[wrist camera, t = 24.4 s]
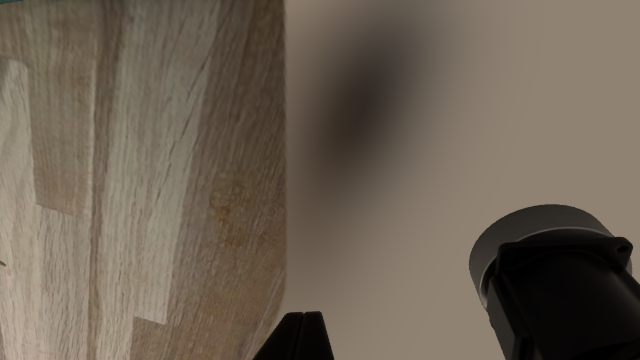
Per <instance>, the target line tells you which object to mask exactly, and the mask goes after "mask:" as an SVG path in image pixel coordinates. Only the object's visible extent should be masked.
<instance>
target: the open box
mask: <svg viewBox="0 0 640 360" xmlns="http://www.w3.org/2000/svg"><path fill="white" fill-rule="evenodd" d="M15 1H21V0H0V4H3V3H9V2H15Z"/></svg>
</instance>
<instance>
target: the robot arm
mask: <svg viewBox="0 0 640 360" xmlns="http://www.w3.org/2000/svg"><path fill="white" fill-rule="evenodd" d="M620 246H621V247H620ZM618 247H619V248H618ZM510 250H511V252H509V253H506V252H507V251H510ZM632 250H633V246H632V244H631V243H630V242H629V241H628V240H627V239H626V238H624V237H605V238H584V239H563V240H542V241H521V242H506V243H503V244H501V245H500V246H499V247H498V251H497V259H496V267H495V276H492V277H491V279H490V280H489V289H488V298H487V307H486V309H487V312H488V315H489V319H490V323H491V326H492V327H493V329H494V330H495V333H496V336H497V338H498V341H499V343H500V346H501V349H502V351H503V354H504V356H505V359H506V360H640V284H639V283H638V282H637V281H636V280H635V279H634V278H633V277H632V276H631V275H630V273H629V272H628V271H627V270H626V267H627V264H628V261H629V258H630V256H631V253H632ZM252 360H334V356H333V353H332V349H331V345H330V342H329V338H328V335H327V331H326V327H325V323H324V320H323V316H322V313H321V312H320V311H316V312H315V311H314V312H305V313H303V312H291V313H287V314H286V315H285V316H284V317H283V318H282V320H281V321H280V323H279V324H278V326H277V327H276V328H275V329H274V331H273V332H272V333H271V335H270V336H269V338H268V339H267V340H266V342H265V343H264V344H263V346H262V347H261V348H260V350H259V351H258V353H257V354H256V355H255V357H254V358H253V359H252Z"/></svg>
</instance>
